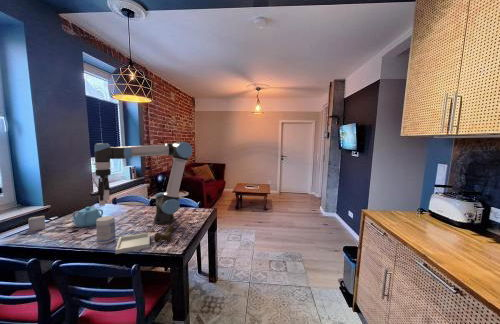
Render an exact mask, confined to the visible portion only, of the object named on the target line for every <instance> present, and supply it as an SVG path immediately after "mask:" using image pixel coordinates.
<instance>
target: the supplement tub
mask: <svg viewBox="0 0 500 324" xmlns="http://www.w3.org/2000/svg"><path fill="white" fill-rule="evenodd" d="M95 227H96V242H97V243H98V244H100V245H105V244H108V243H112V242H114V241H115V239H116V220H115V216H114V215H107V216H106V215H105V216H102V217H101V218H98V219H97V220H96V224H95Z"/></svg>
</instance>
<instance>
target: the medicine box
mask: <svg viewBox="0 0 500 324" xmlns="http://www.w3.org/2000/svg"><path fill="white" fill-rule="evenodd" d="M27 223H28V224H27V225H28V232H34V231H35V232H36V231H40V230H45V229H46V218H45V215H40V216H33V217H29V218H28V222H27Z"/></svg>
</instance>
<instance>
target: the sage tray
mask: <svg viewBox="0 0 500 324" xmlns="http://www.w3.org/2000/svg"><path fill="white" fill-rule="evenodd" d="M150 234H151V233H150V232H143V233H136V234H129V235H125V236H124V235H123V236H120V237H119V238H118V240H117V244H116V247H115V251H114V252H115V253H114V254H115V255H119V254H124V253H129V252H134V251H138V250H139V251H141V250H145V249H150V244H151V243H150V242H151V240H150V237H151V235H150Z"/></svg>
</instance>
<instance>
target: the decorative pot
mask: <svg viewBox="0 0 500 324" xmlns="http://www.w3.org/2000/svg"><path fill="white" fill-rule="evenodd" d="M76 214H77V215H76ZM103 214H104V211H103V209H101V208H97V207H94V206H93V207H91V206H86V207H85V208H82V209H80V210H76V211H73V212H72V218H73V219H72V223H73V224H75V226H76V227H79V228H83V227H94V226H96V220H97V219H98V218H101V217H103Z"/></svg>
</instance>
